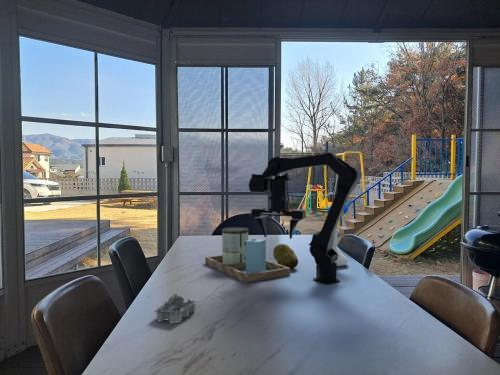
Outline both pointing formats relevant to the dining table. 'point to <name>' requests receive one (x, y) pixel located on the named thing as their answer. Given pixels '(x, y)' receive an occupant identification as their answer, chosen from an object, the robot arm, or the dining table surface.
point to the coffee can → (234, 244)
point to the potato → (285, 256)
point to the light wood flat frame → (234, 268)
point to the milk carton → (255, 255)
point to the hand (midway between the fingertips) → (278, 237)
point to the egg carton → (175, 309)
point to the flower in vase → (341, 259)
